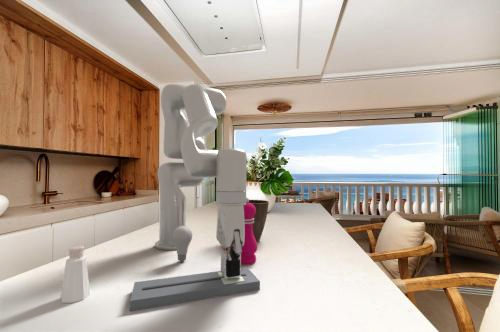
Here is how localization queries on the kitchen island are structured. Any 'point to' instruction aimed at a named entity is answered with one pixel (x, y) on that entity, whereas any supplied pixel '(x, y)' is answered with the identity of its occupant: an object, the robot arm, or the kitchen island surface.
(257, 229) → the plant pot
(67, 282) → the pepper shaker
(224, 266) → the fader knob
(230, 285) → the fader panel
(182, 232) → the lightbulb
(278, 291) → the kitchen island surface
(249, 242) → the pepper mill
